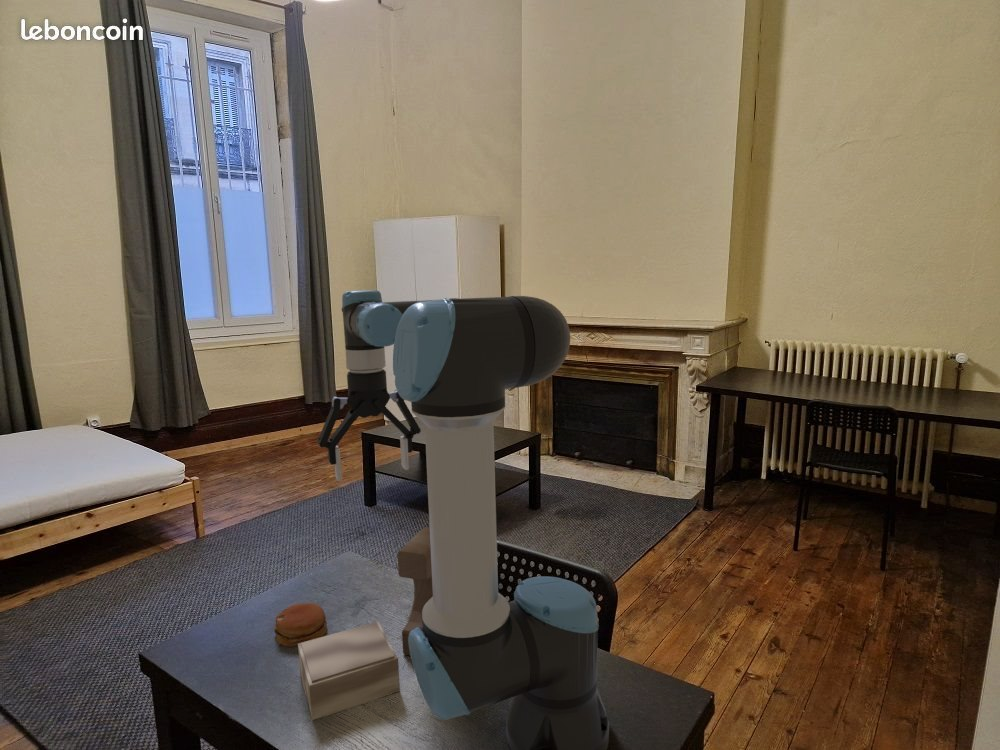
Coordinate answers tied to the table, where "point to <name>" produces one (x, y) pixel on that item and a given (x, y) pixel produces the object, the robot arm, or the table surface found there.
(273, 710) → the table surface
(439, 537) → the robot arm
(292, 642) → the burger
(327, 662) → the plinth
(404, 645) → the decorative block
